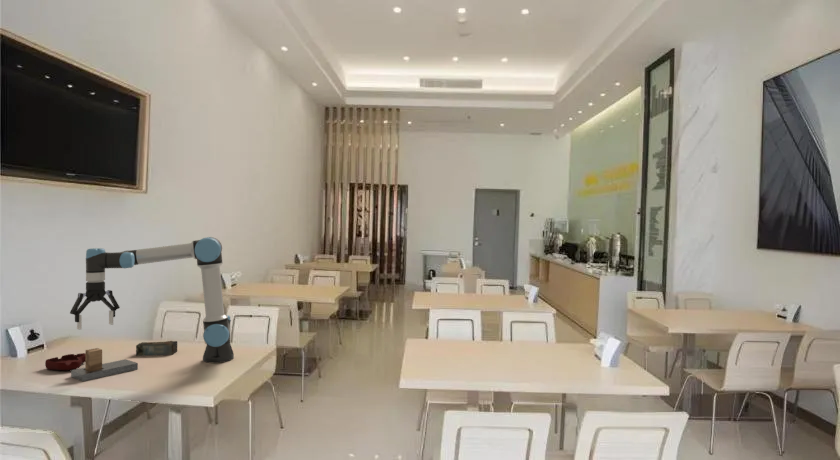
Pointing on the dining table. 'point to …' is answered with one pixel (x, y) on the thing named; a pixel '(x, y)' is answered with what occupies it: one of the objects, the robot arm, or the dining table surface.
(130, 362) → the steel rail
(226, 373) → the dining table surface
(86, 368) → the walnut block
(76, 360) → the dark red curved piece
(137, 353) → the beverage carton
